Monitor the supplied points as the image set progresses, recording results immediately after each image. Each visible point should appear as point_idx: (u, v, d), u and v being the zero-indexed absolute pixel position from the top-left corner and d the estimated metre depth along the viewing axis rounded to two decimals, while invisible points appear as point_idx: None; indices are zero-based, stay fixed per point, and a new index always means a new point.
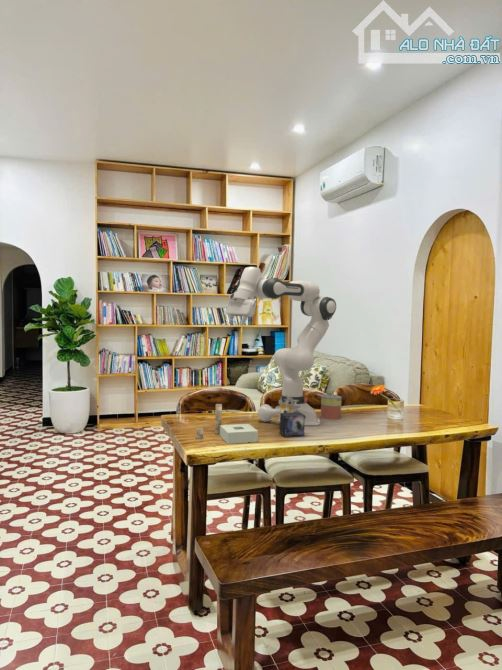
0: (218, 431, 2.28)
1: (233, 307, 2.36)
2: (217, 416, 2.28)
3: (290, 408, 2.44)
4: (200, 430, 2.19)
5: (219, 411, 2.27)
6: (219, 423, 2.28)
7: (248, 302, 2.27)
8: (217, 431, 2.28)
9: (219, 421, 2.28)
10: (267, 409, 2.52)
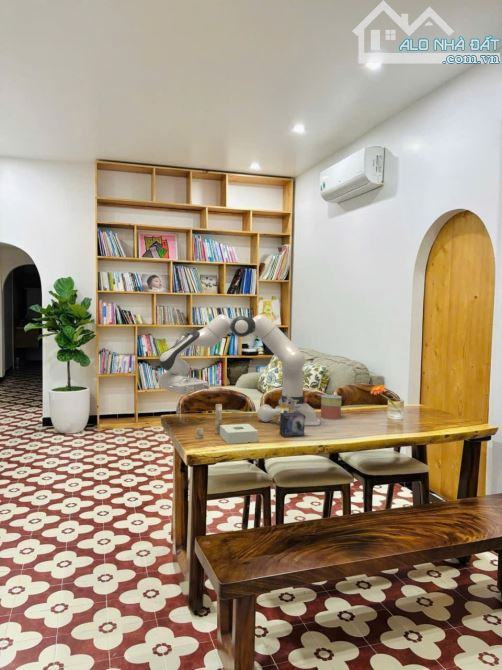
0: (218, 431, 2.28)
1: None
2: (217, 416, 2.28)
3: (290, 408, 2.44)
4: (200, 430, 2.19)
5: (219, 411, 2.27)
6: (219, 423, 2.28)
7: None
8: (217, 431, 2.28)
9: (219, 421, 2.28)
10: (267, 409, 2.52)
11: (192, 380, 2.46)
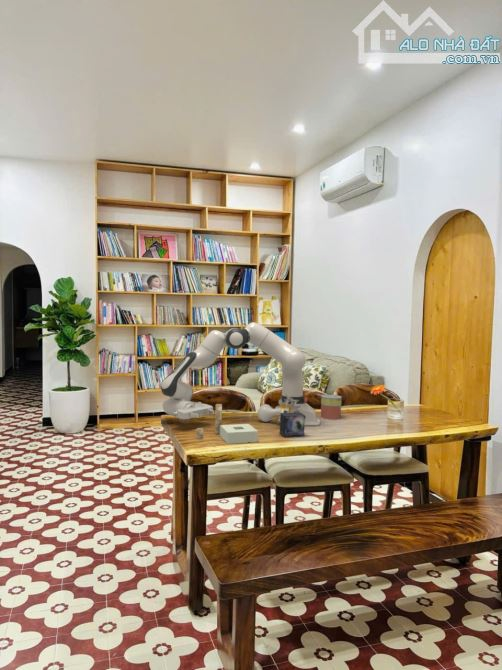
0: (218, 431, 2.28)
1: None
2: (217, 416, 2.28)
3: (290, 408, 2.44)
4: (200, 430, 2.19)
5: (219, 411, 2.27)
6: (219, 423, 2.28)
7: None
8: (217, 431, 2.28)
9: (219, 421, 2.28)
10: (267, 409, 2.52)
11: (197, 405, 2.45)
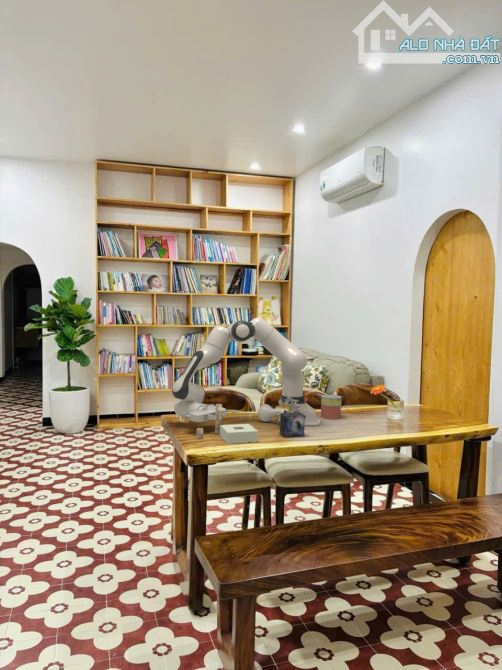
0: (218, 431, 2.28)
1: None
2: None
3: (290, 408, 2.44)
4: (200, 430, 2.19)
5: (219, 411, 2.27)
6: (219, 423, 2.28)
7: None
8: (217, 431, 2.28)
9: (219, 421, 2.28)
10: (267, 409, 2.52)
11: (209, 407, 2.38)
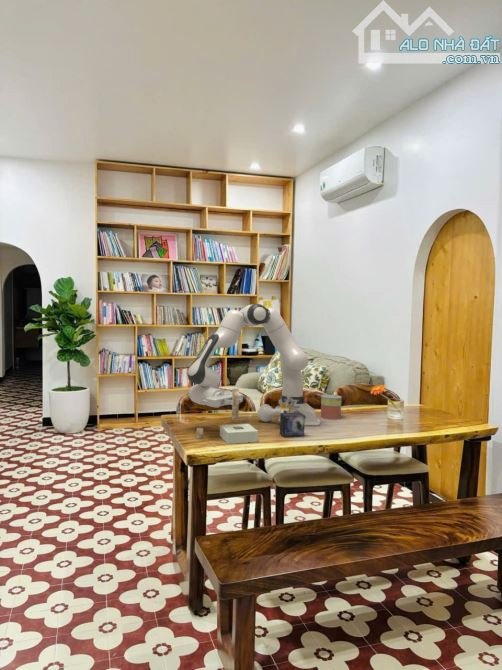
0: (235, 416, 2.21)
1: None
2: None
3: (290, 408, 2.44)
4: (200, 430, 2.19)
5: (236, 395, 2.20)
6: (236, 408, 2.20)
7: None
8: (234, 416, 2.21)
9: (236, 406, 2.20)
10: (267, 409, 2.52)
11: (226, 393, 2.31)
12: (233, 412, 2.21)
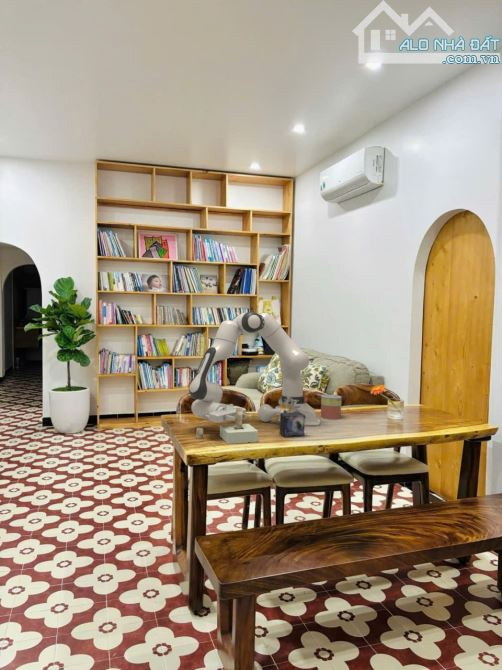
0: None
1: None
2: (237, 421, 2.19)
3: (290, 408, 2.44)
4: (200, 430, 2.19)
5: (239, 415, 2.19)
6: (239, 428, 2.19)
7: None
8: None
9: (239, 426, 2.19)
10: (267, 409, 2.52)
11: (229, 407, 2.30)
12: None
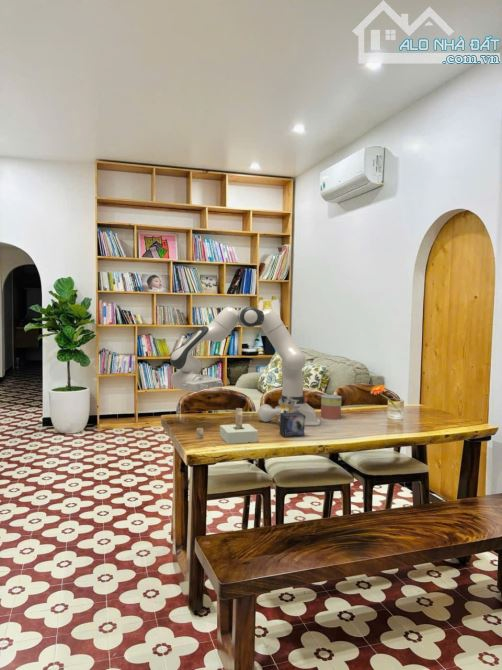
0: None
1: None
2: (237, 421, 2.19)
3: (290, 408, 2.44)
4: (200, 430, 2.19)
5: (239, 415, 2.19)
6: (239, 428, 2.19)
7: None
8: None
9: (239, 426, 2.19)
10: (267, 409, 2.52)
11: (205, 378, 2.42)
12: None
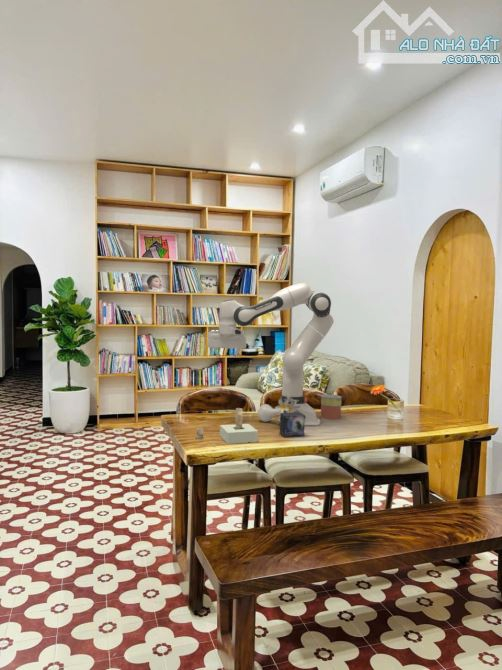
0: None
1: None
2: (237, 421, 2.19)
3: (290, 408, 2.44)
4: (200, 430, 2.19)
5: (240, 415, 2.19)
6: (239, 428, 2.19)
7: None
8: None
9: (239, 426, 2.19)
10: (267, 409, 2.52)
11: (234, 337, 2.50)
12: None
